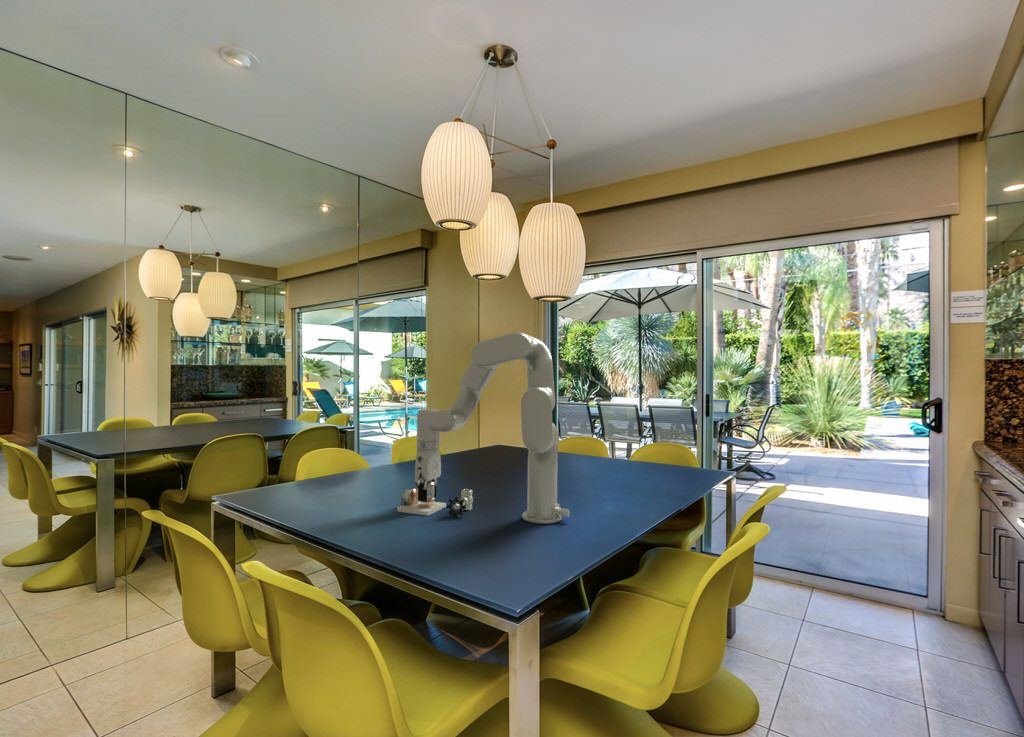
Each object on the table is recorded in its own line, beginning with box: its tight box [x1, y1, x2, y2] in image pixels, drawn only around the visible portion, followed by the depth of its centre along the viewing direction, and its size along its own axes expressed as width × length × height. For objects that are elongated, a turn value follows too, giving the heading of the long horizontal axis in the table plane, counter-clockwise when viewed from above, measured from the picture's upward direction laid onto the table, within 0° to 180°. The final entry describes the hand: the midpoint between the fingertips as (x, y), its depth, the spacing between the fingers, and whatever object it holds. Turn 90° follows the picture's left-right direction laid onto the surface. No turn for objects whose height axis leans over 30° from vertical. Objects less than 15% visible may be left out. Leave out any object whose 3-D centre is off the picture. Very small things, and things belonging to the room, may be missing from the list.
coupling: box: [420, 480, 436, 503], centre depth 170 cm, size 5×5×6 cm
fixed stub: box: [400, 488, 419, 506], centre depth 172 cm, size 4×6×7 cm, turn 158°
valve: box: [445, 488, 474, 518], centre depth 167 cm, size 7×7×12 cm
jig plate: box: [396, 501, 447, 517], centre depth 170 cm, size 12×12×1 cm
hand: (427, 498), depth 170 cm, fingers closed on coupling, 5 cm apart
